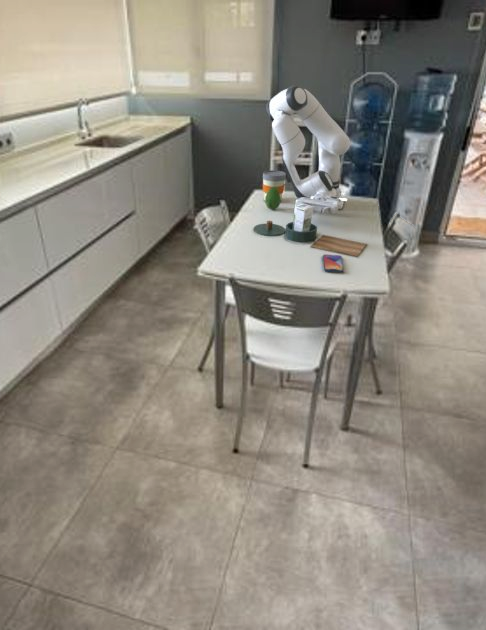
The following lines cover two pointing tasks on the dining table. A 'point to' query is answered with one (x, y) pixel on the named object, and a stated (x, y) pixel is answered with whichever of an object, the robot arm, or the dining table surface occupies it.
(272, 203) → the avocado
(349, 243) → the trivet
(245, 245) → the dining table surface
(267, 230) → the pot lid
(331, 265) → the smartphone
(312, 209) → the syrup box
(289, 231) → the pot
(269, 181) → the reusable coffee cup
